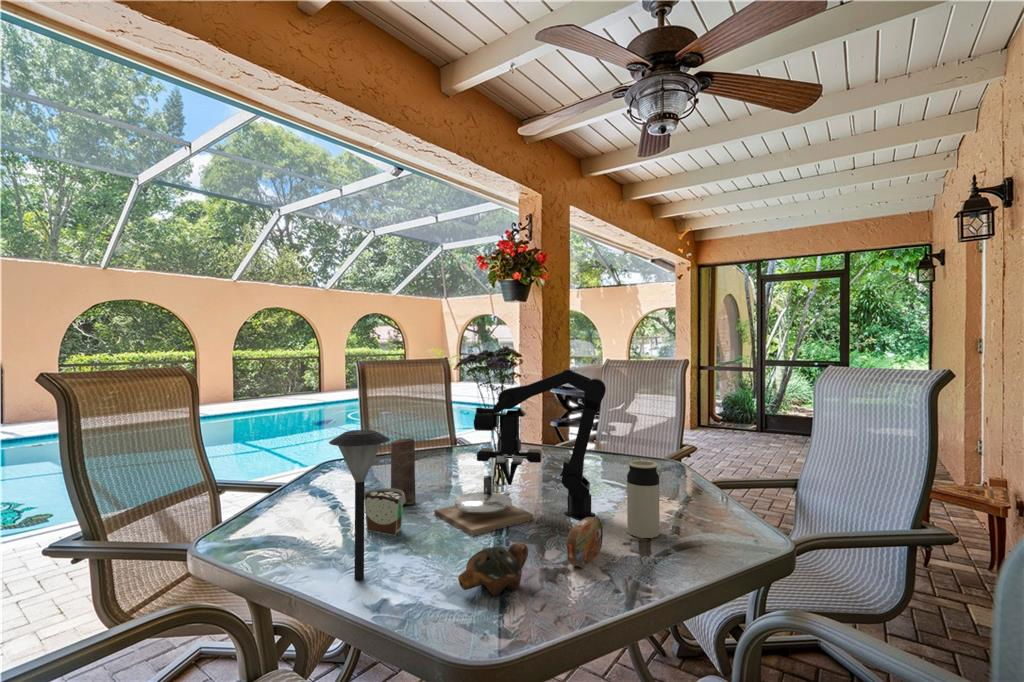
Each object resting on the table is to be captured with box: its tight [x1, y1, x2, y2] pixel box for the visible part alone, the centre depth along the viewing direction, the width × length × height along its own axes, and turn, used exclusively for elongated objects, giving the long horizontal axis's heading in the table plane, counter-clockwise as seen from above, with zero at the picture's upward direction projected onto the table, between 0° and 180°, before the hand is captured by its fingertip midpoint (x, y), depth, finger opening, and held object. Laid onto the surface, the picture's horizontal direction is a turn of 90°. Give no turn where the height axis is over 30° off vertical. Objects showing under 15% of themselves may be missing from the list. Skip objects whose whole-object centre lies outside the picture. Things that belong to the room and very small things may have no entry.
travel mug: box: [626, 459, 661, 539], centre depth 125 cm, size 8×8×18 cm
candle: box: [390, 437, 416, 505], centre depth 150 cm, size 8×7×20 cm
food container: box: [364, 487, 406, 537], centre depth 128 cm, size 12×6×10 cm, turn 65°
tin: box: [566, 516, 604, 569], centre depth 110 cm, size 15×3×8 cm, turn 148°
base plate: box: [434, 504, 534, 537], centre depth 137 cm, size 20×20×2 cm
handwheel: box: [454, 475, 513, 514], centre depth 138 cm, size 16×16×8 cm
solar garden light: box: [328, 429, 391, 582], centre depth 100 cm, size 12×12×30 cm
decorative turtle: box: [457, 542, 529, 597], centre depth 96 cm, size 10×15×8 cm, turn 125°
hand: (509, 484), depth 143 cm, fingers closed
